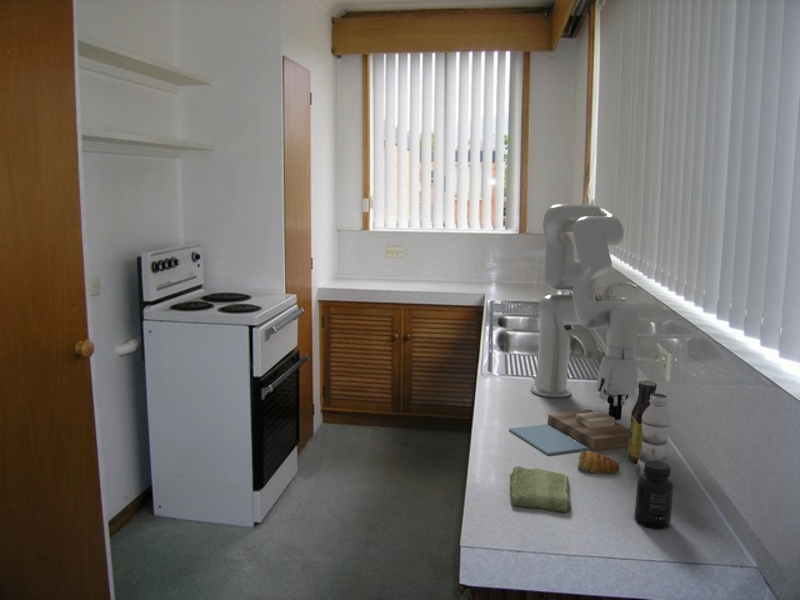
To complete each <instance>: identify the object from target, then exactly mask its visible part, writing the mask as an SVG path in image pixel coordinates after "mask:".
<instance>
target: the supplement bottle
mask: <svg viewBox="0 0 800 600" xmlns="http://www.w3.org/2000/svg"><path fill="white" fill-rule="evenodd" d="M670 477H671V465H670V464H669V463H667V462H666V463H665V462H662V461H656V460H650V461H646V462H645V467H644V474H642V475H640V476H639V477H638V478H637V483H636V484H637V485H636V494H635V495H636V496H635V503H634V512H633V513H634V515H633V517H634V520H635V522H636V523H638V524H639V525H640V526H641V527H645V528H647V529H652V530H665V529H668V527H670V526H671V520H672V513H673V503H674V493H675V483H674V481H673V480H672V478H670Z"/></svg>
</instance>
